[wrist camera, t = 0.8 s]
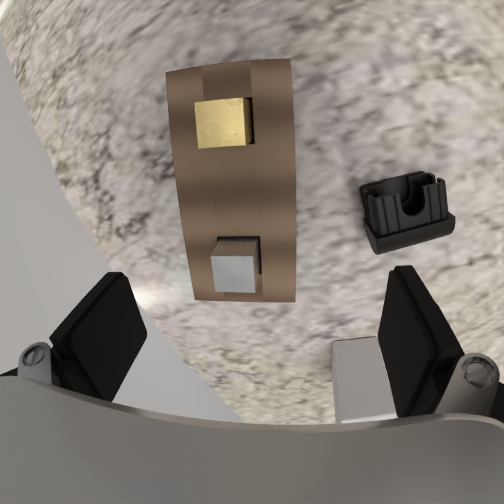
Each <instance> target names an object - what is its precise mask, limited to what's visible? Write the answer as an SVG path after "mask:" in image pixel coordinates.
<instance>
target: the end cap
mask: <svg viewBox="0 0 504 504" xmlns="http://www.w3.org/2000/svg"><path fill="white" fill-rule="evenodd" d="M360 193H361V197H362V202H363V206H364V211H365V216H366V219H364V225H365V229H366V232H367V236H368V239H369V242H370V245H371V248H372V250H373V252H374V253H375V254H377V255H379V254H382V253H386V252H390V251H393V250H397V249H401V248H404V247H408V246H411V245H415V244H418V243H422V242H425V241H429V240H432V239H436V238H439V237H443V236H446V235H449V234H451V233H452V232H453V230H454V227H455V216H453V215H452V214H451V213H449V212H448V205H447V195H446V186H445V180H443V179H441V178H437V183H436V180H435V175H433V174H431V173H425V172H423V171H419V172H415V173H410V174H406V175H402V176H398V177H394V178H389V179H385V180H381V181H377V182H373V183H369V184H365V185H362V186H361V188H360Z"/></svg>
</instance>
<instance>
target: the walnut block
mask: <svg viewBox="0 0 504 504" xmlns="http://www.w3.org/2000/svg"><path fill="white" fill-rule="evenodd" d="M166 85H167V99H168V111H169V123H170V133H171V143H172V152H173V161H174V170H175V178H176V186H177V193H178V201H179V208H180V215H181V221H182V228H183V234H184V241H185V247H186V253H187V259H188V264H189V270H190V276H191V281H192V286H193V292H194V297H195V300H206V301H235V302H295V295H296V173H295V140H294V115H293V96H292V79H291V64H290V59H266V60H250V61H239V62H229V63H220V64H212V65H205V66H199V67H192V68H186V69H181V70H176V71H171V72H166ZM231 98H245V99H247V100H250V101H252V103H253V119H254V135H255V140H253V141H251V142H250V143H248V144H247V145H240V146H224V147H211V148H200V149H198V140H197V129H196V117H195V104H194V103H196V102H203V101H212V100H221V99H231ZM221 236H260V243H261V251H260V265H261V266H260V271H259V276H258V281H257V286H256V291H255V293H244V292H216V291H215V285H214V278H213V270H212V263H211V254H212V252H213V251H214V249H215V247H216V245H217V243H218V241H219V239H220V238H221Z"/></svg>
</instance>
